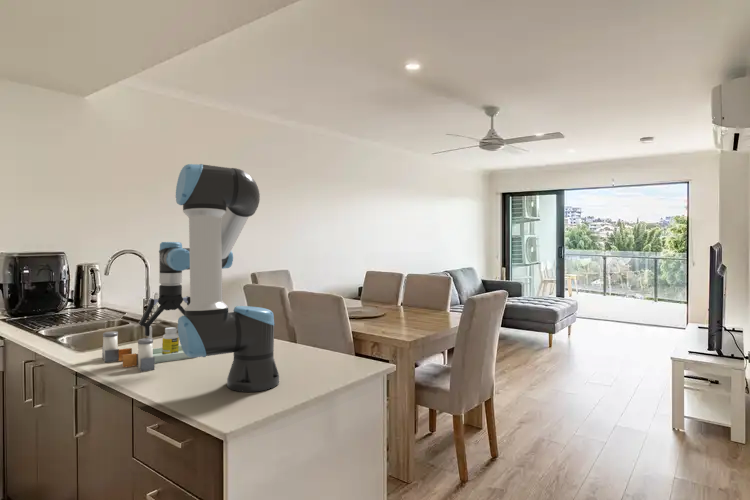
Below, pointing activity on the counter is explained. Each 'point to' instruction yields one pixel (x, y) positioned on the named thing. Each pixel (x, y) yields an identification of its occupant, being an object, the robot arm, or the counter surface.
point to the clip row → (129, 358)
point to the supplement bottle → (170, 341)
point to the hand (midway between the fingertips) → (170, 342)
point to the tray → (168, 355)
